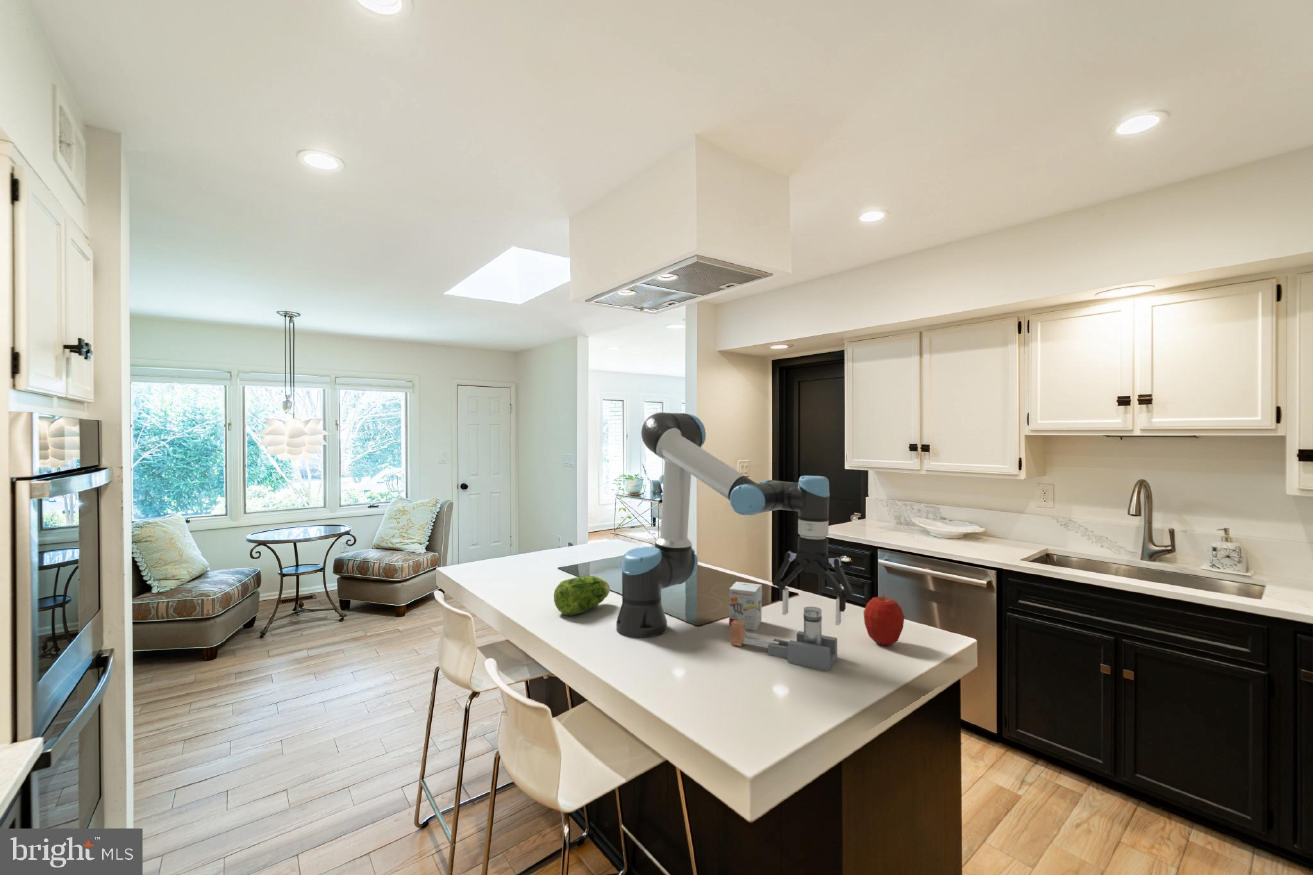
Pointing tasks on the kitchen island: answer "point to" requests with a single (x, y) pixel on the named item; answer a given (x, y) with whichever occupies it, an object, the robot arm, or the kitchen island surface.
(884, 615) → the apple
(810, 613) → the grey cylinder
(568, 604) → the green rounded piece
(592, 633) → the kitchen island surface
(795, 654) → the mount
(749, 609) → the ink box
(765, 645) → the pin
